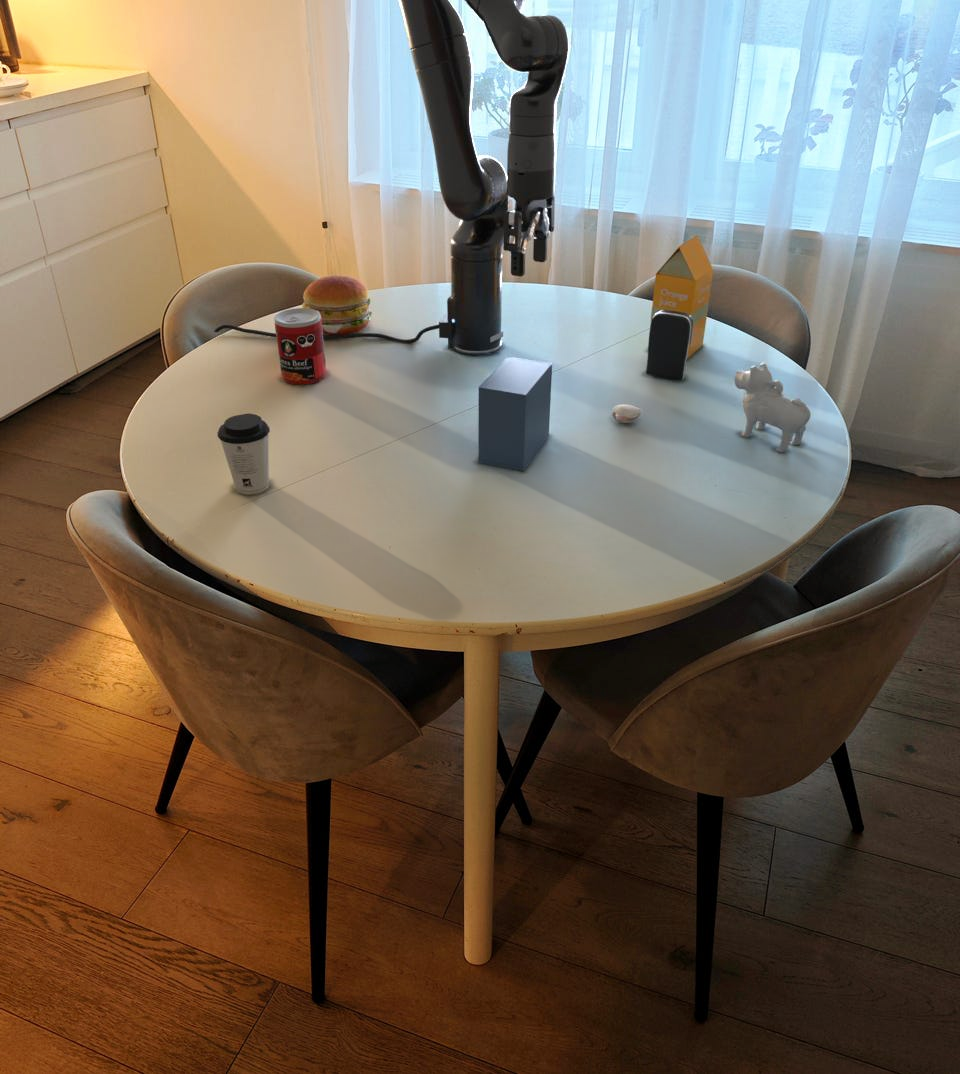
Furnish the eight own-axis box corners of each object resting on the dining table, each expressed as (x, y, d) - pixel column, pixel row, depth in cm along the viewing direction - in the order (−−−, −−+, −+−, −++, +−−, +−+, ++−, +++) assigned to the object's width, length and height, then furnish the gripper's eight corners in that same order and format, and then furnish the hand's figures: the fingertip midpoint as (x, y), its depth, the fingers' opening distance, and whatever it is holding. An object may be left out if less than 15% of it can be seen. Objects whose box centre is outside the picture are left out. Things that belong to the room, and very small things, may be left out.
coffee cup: (253, 504, 123) (242, 438, 118) (216, 490, 126) (204, 425, 121) (287, 482, 128) (279, 418, 122) (251, 469, 131) (241, 406, 126)
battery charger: (688, 374, 160) (696, 311, 153) (682, 382, 157) (691, 318, 151) (649, 367, 162) (656, 305, 156) (643, 375, 159) (650, 312, 153)
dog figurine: (739, 417, 146) (750, 354, 140) (809, 445, 137) (823, 379, 132) (719, 427, 143) (729, 363, 137) (789, 456, 135) (803, 389, 129)
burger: (368, 340, 173) (364, 289, 167) (297, 340, 173) (291, 289, 168) (376, 316, 184) (373, 267, 179) (309, 316, 184) (304, 267, 179)
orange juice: (703, 345, 171) (718, 237, 160) (685, 360, 165) (700, 249, 154) (664, 336, 175) (677, 231, 164) (646, 351, 169) (657, 242, 158)
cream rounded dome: (607, 417, 145) (608, 402, 144) (634, 411, 147) (635, 397, 146) (621, 428, 142) (622, 413, 141) (648, 422, 144) (650, 408, 142)
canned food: (273, 381, 157) (264, 320, 151) (297, 364, 163) (290, 305, 157) (311, 388, 155) (304, 326, 149) (334, 371, 161) (329, 311, 155)
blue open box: (478, 462, 133) (478, 387, 126) (506, 428, 142) (507, 356, 135) (523, 471, 131) (525, 395, 124) (548, 436, 140) (552, 363, 133)
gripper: (529, 153, 147) (526, 254, 156) (488, 170, 137) (488, 277, 146) (571, 157, 144) (567, 260, 153) (534, 175, 134) (531, 283, 143)
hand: (528, 268), depth 149 cm, fingers open, 8 cm apart
